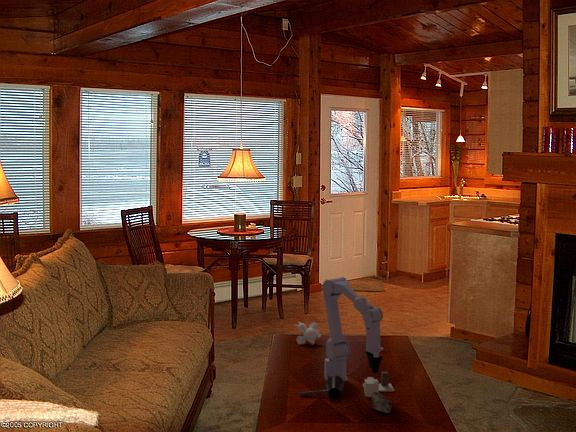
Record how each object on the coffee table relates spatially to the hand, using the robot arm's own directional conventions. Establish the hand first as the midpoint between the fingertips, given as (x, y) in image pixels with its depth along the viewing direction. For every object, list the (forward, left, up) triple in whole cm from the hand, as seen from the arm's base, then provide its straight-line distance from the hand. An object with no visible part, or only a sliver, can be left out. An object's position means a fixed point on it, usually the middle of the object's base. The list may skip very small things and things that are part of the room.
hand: (373, 370), depth 298 cm
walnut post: (+6, +9, -10) cm, 15 cm away
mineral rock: (+1, -15, -11) cm, 18 cm away
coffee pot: (-21, 0, -11) cm, 24 cm away
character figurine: (-23, +72, -10) cm, 76 cm away
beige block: (-1, -1, -10) cm, 10 cm away
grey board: (+3, +7, -10) cm, 13 cm away
